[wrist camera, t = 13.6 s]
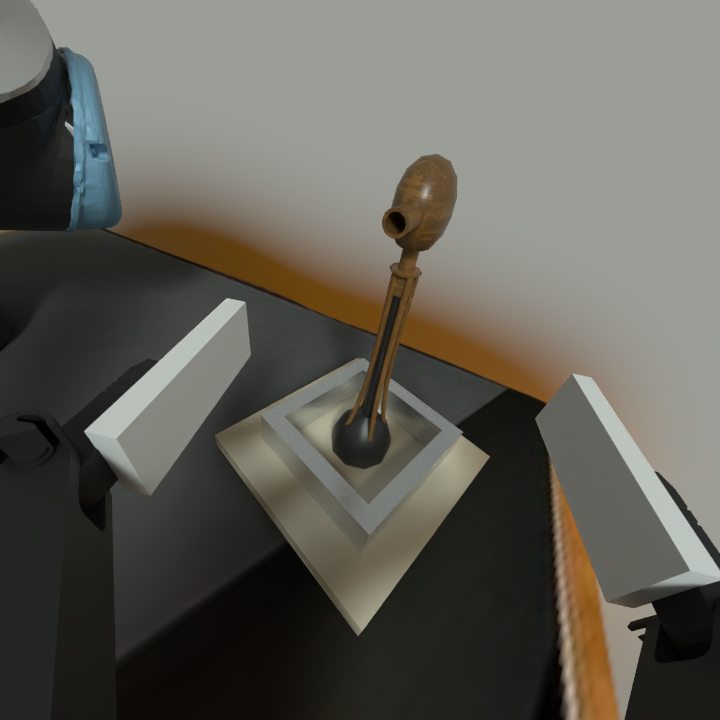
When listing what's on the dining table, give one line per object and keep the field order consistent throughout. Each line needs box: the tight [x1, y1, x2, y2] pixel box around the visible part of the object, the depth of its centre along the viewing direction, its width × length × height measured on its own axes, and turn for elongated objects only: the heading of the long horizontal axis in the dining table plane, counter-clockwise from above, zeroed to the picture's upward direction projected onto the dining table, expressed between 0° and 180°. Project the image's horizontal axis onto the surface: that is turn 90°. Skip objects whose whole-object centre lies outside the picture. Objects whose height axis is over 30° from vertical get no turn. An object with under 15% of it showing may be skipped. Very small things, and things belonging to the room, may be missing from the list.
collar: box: [261, 358, 463, 553], centre depth 24 cm, size 11×11×3 cm
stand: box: [215, 358, 490, 636], centre depth 25 cm, size 16×16×2 cm
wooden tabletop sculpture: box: [331, 154, 457, 469], centre depth 18 cm, size 6×5×20 cm
